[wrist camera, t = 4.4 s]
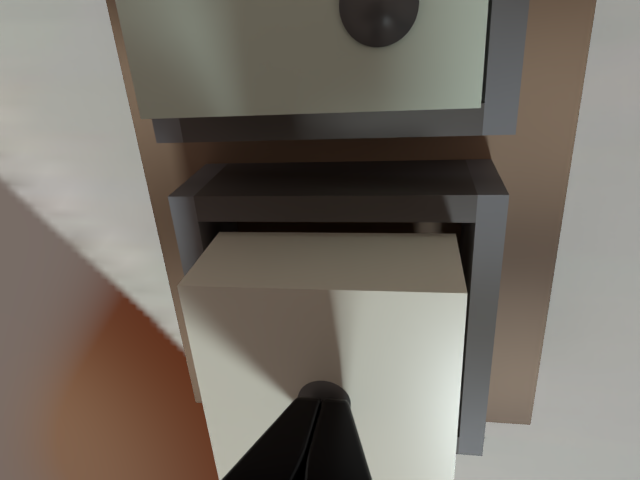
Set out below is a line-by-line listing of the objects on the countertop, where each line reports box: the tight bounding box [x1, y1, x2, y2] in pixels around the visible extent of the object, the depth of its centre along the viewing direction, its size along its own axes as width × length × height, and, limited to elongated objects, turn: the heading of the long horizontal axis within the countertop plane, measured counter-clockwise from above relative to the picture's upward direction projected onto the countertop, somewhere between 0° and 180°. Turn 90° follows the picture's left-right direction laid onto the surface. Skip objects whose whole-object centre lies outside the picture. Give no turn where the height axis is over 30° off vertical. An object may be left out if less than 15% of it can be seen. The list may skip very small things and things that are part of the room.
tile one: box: [177, 232, 468, 480], centre depth 9 cm, size 4×4×2 cm
